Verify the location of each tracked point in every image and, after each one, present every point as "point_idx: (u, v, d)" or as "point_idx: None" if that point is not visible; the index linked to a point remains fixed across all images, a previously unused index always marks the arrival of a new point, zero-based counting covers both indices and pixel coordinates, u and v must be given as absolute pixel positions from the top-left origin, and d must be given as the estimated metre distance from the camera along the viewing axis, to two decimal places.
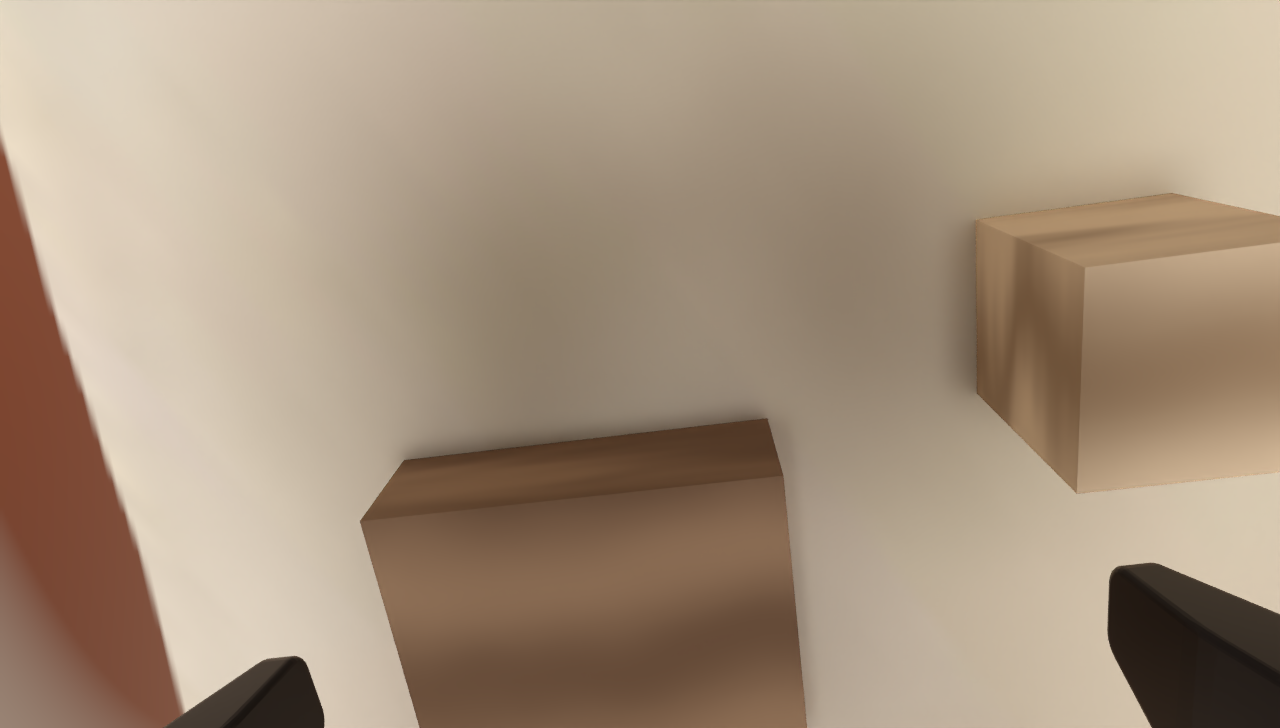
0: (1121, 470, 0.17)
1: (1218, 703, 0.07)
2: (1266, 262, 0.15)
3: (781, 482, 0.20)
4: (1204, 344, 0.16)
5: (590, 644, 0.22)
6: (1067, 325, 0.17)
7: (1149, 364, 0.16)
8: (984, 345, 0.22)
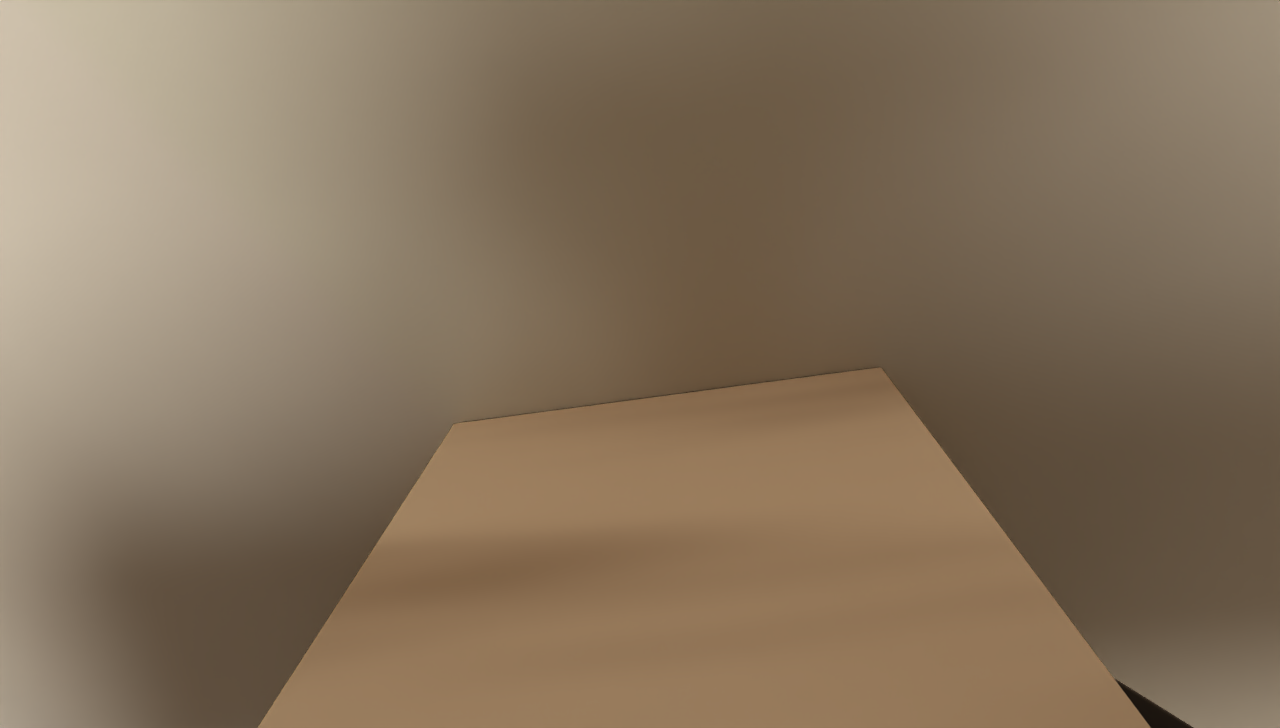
0: None
1: None
2: None
3: None
4: None
5: None
6: None
7: None
8: None
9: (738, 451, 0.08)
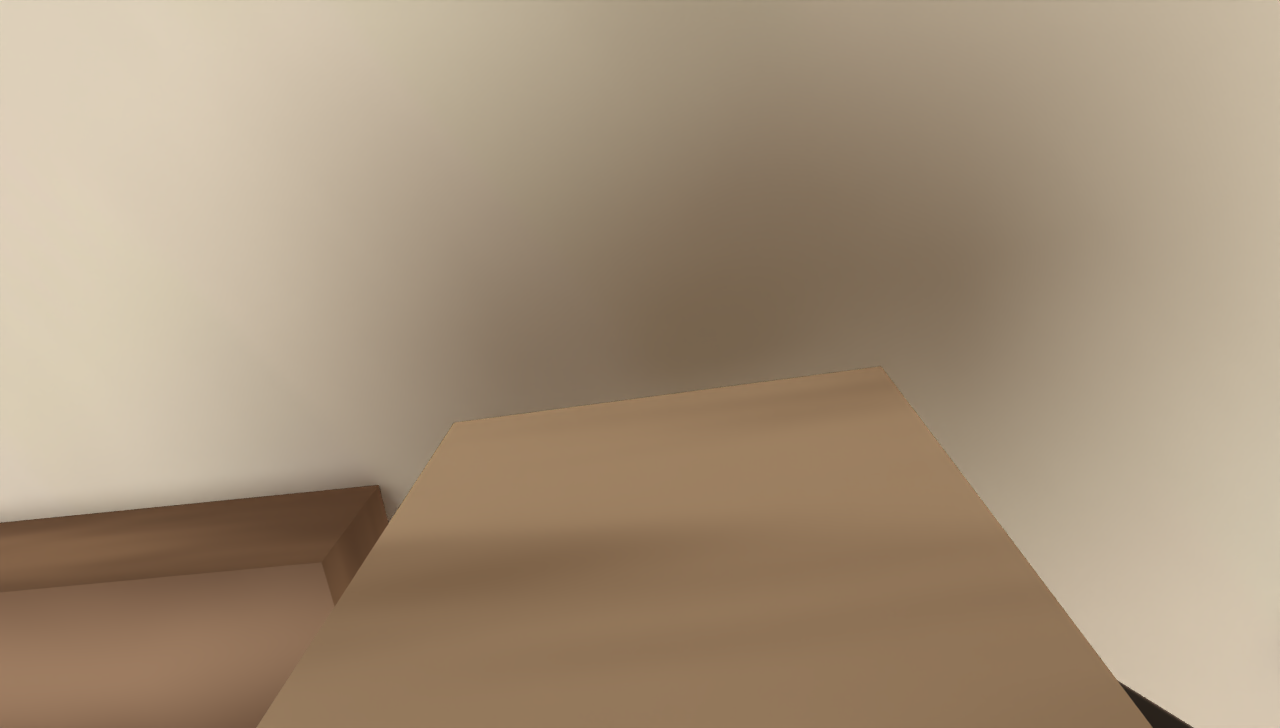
0: None
1: None
2: None
3: (321, 569, 0.17)
4: None
5: None
6: None
7: None
8: None
9: (738, 450, 0.08)
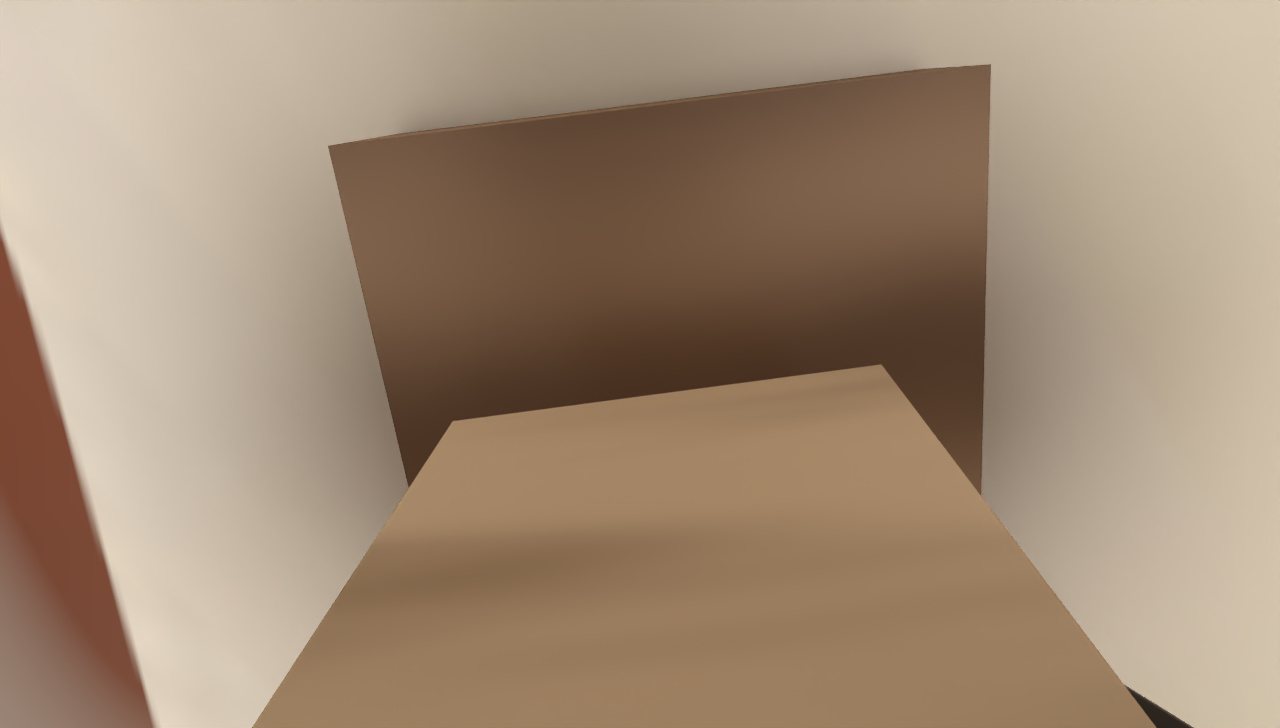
0: None
1: None
2: None
3: (986, 77, 0.13)
4: None
5: (671, 363, 0.15)
6: None
7: None
8: None
9: (738, 448, 0.08)
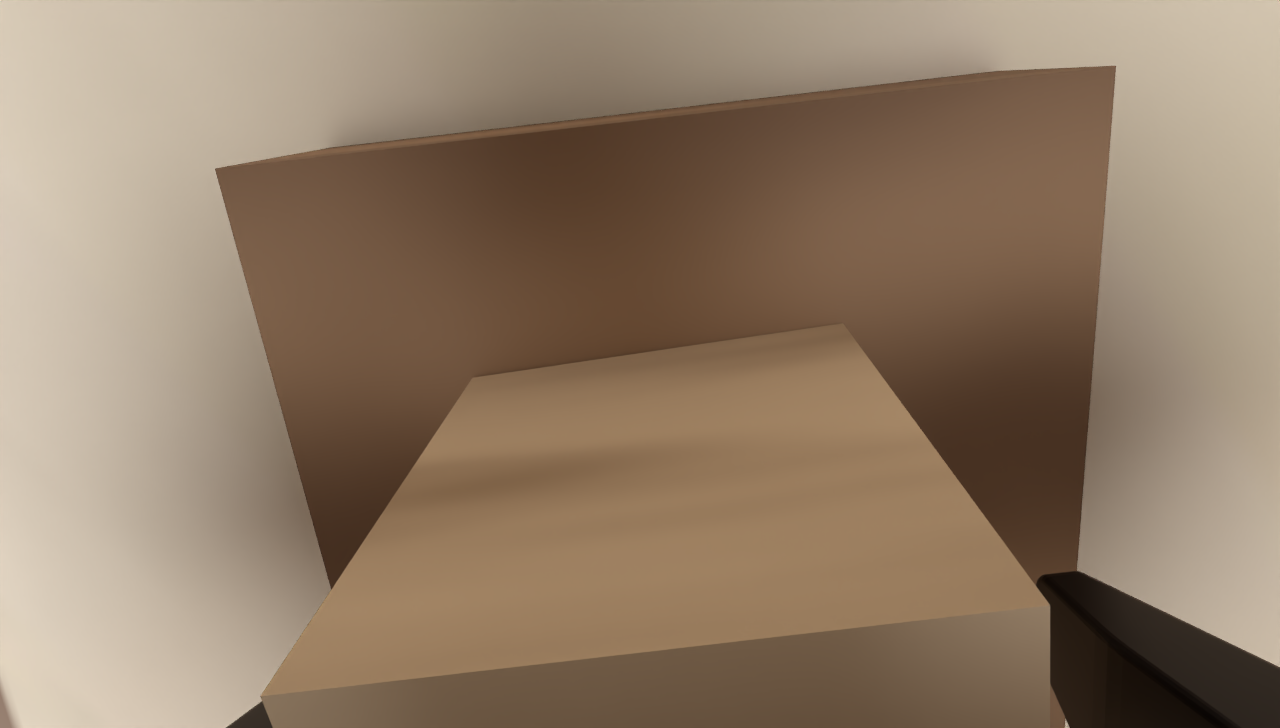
0: None
1: (1125, 712, 0.07)
2: (789, 682, 0.05)
3: (1109, 83, 0.09)
4: None
5: None
6: None
7: None
8: None
9: (717, 389, 0.09)
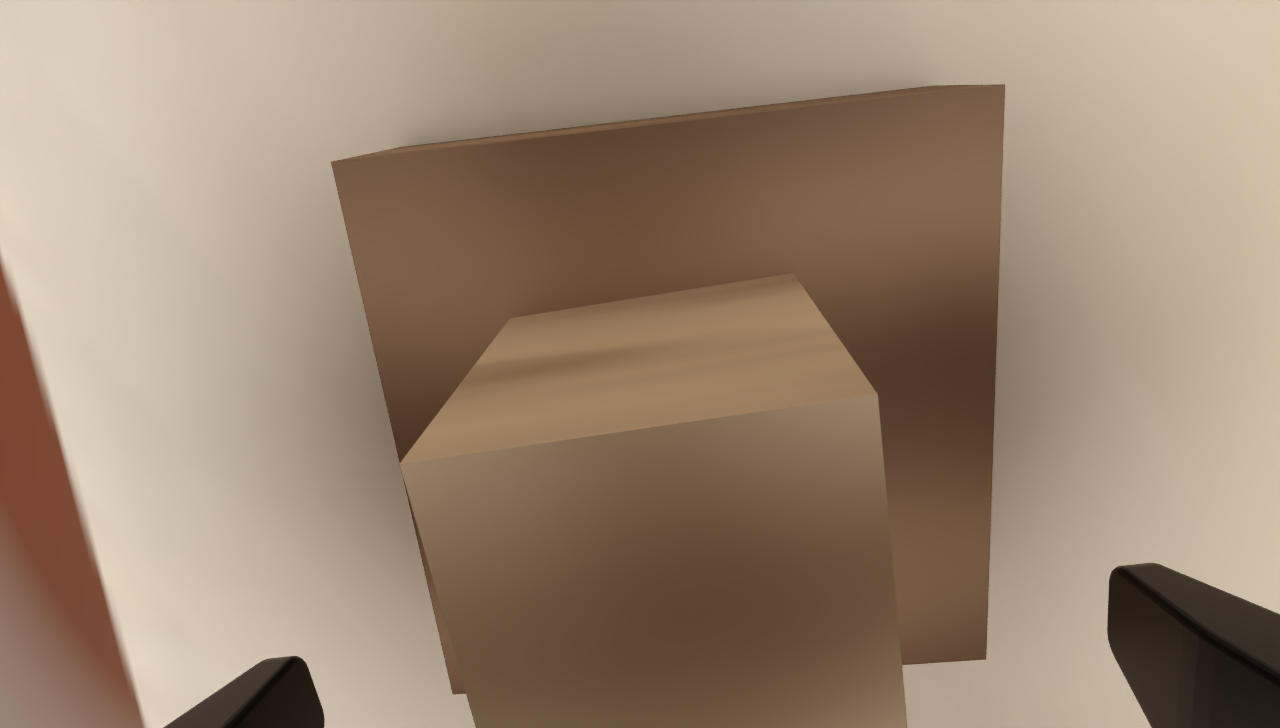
0: None
1: (1218, 703, 0.07)
2: (723, 449, 0.08)
3: (1000, 97, 0.13)
4: (652, 590, 0.09)
5: None
6: None
7: (564, 624, 0.09)
8: None
9: (693, 313, 0.12)
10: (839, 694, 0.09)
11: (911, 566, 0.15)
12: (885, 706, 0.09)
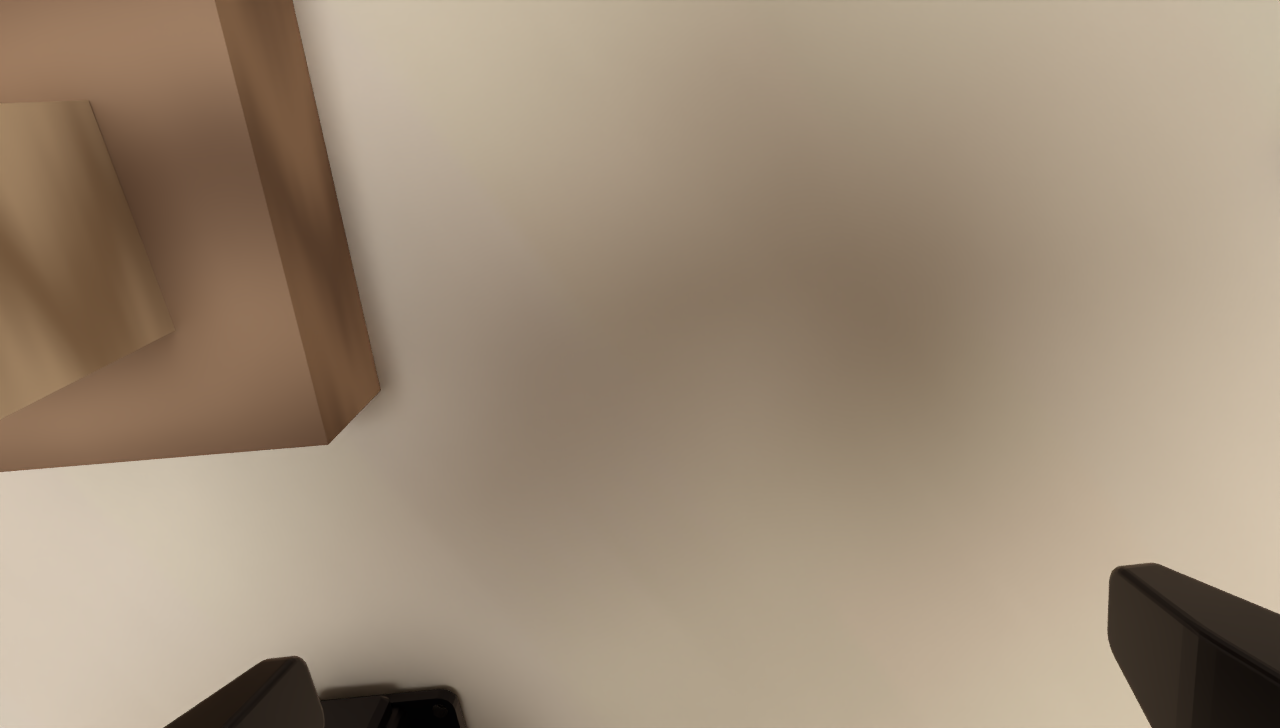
0: None
1: (1218, 703, 0.07)
2: None
3: None
4: None
5: None
6: None
7: None
8: None
9: None
10: None
11: (241, 357, 0.18)
12: None
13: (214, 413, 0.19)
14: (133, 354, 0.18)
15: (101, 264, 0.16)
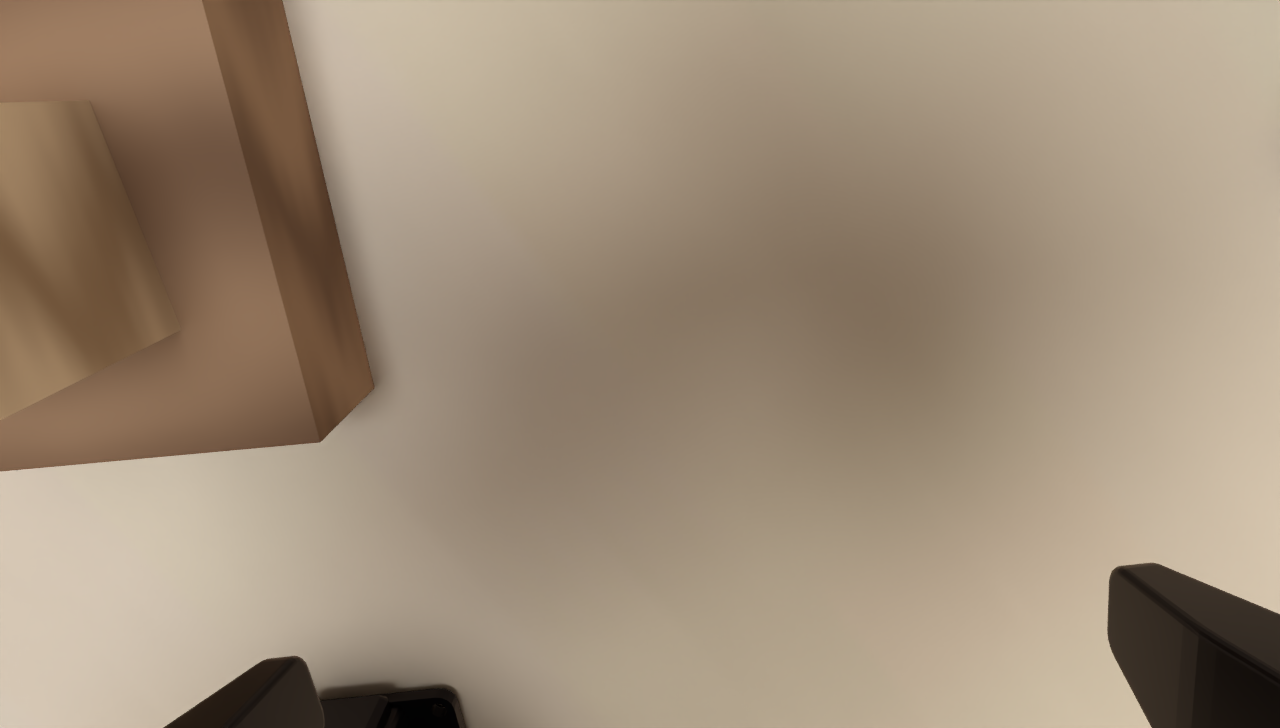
0: None
1: (1218, 703, 0.07)
2: None
3: None
4: None
5: None
6: None
7: None
8: None
9: None
10: None
11: (232, 355, 0.18)
12: None
13: (205, 411, 0.19)
14: None
15: (105, 263, 0.16)
